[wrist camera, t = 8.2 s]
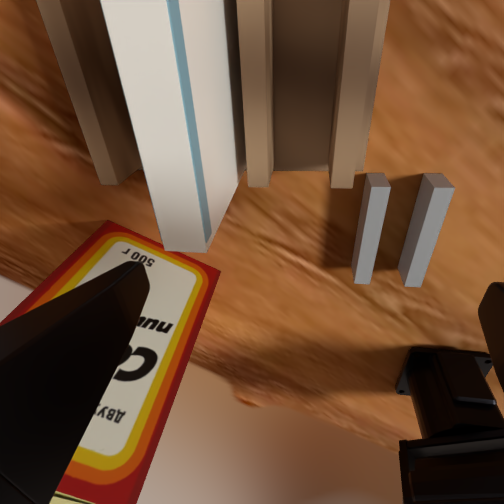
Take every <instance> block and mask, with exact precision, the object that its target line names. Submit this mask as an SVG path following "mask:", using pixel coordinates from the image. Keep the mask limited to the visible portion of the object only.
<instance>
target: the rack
mask: <svg viewBox="0 0 504 504" xmlns="http://www.w3.org/2000/svg"><path fill="white" fill-rule="evenodd" d="M236 1H237V17H238V32H239V48H240V64H241V80H242V96H243V112H244V127H245V143H246V159H247V166H246V168H245V170H244V171H247V175H248V187H269V183H270V179H271V175H272V171H329V177H330V185H331V188H353V182H354V175H355V171H363V168H364V162H365V156H366V150H367V143H368V137H369V131H370V124H371V118H372V112H373V106H374V99H375V93H376V87H377V80H378V74H379V68H380V62H381V55H382V49H383V43H384V36H385V30H386V24H387V18H388V11H389V5H390V0H236ZM36 2H37V5H38V7H39V10H40V13H41V16H42V19H43V22H44V24H45V27H46V30H47V33H48V36H49V39H50V41H51V44H52V47H53V50H54V53H55V56H56V58H57V61H58V64H59V67H60V70H61V73H62V75H63V78H64V81H65V84H66V87H67V90H68V92H69V95H70V98H71V101H72V104H73V107H74V109H75V112H76V115H77V118H78V121H79V124H80V126H81V129H82V132H83V135H84V138H85V141H86V143H87V146H88V149H89V152H90V155H91V158H92V160H93V163H94V166H95V169H96V172H97V175H98V177H99V180H100V183H101V185H119V184H120V183H122V182H123V181H124V180H125V179H126V178H128V177H129V176H130V175H131V174H132V173H134V172H135V171H136V170H143V166H142V162H141V158H140V155H139V151H138V147H137V143H136V139H135V135H134V131H133V127H132V124H131V120H130V116H129V112H128V108H127V104H126V100H125V96H124V93H123V89H122V85H121V81H120V77H119V73H118V69H117V65H116V62H115V58H114V54H113V50H112V46H111V42H110V38H109V35H108V31H107V27H106V23H105V19H104V15H103V11H102V7H101V4H100V0H36Z"/></svg>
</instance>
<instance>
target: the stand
mask: <svg viewBox="0 0 504 504" xmlns="http://www.w3.org/2000/svg"><path fill="white" fill-rule="evenodd" d="M390 189H391V186H390V184H389V182H388V180H387V178H386V176H385V174H384V173H366V179H365V185H364V191H363V197H362V203H361V209H360V215H359V221H358V227H357V233H356V239H355V245H354V251H353V257H352V263H351V267H352V273H353V279H354V283H356V284H370V280H371V276H372V271H373V267H374V262H375V258H376V253H377V248H378V244H379V239H380V235H381V230H382V226H383V221H384V217H385V212H386V207H387V203H388V198H389V194H390ZM454 189H455V187H454V186H453V185H452V184H451V183H450V182H449V181H448V180H447V178H446V177H445V176H444V175H443V174H433V173H424V174H423V178H422V181H421V185H420V189H419V192H418V196H417V199H416V203H415V207H414V210H413V214H412V218H411V221H410V225H409V228H408V232H407V236H406V239H405V243H404V246H403V250H402V254H401V257H400V261H399V265H398V270H399V273H400V276H401V278H402V281H403V284H404V286H408V287H421V284H422V282H423V279H424V276H425V273H426V270H427V267H428V264H429V261H430V258H431V256H432V253H433V250H434V247H435V244H436V241H437V238H438V235H439V233H440V230H441V227H442V224H443V221H444V218H445V215H446V212H447V209H448V207H449V204H450V201H451V198H452V195H453V192H454Z"/></svg>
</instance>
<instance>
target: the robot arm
mask: <svg viewBox="0 0 504 504" xmlns="http://www.w3.org/2000/svg"><path fill="white" fill-rule="evenodd" d="M149 291H150V282H149V279H148V276H147V273H146V269H145V266H144V264H143V263H142V262H140V261H126V262H124V263H122V264H120V265H118V266H117V267H115V268H113V269H111V270H109V271H107V272H105V273H103V274H101V275H99V276H97V277H95V278H93V279H91V280H89V281H87V282H85V283H83V284H81V285H79V286H77V287H76V288H74V289H72V290H70V291H68V292H66V293H64V294H62V295H60V296H58V297H56V298H54V299H52V300H50V301H48V302H46V303H44V304H42V305H40V306H38V307H36V308H35V309H33V310H31V311H29V312H27V313H25V314H23V315H21V316H19V317H17V318H15V319H13V320H11V321H9V322H7V323H5V324H3V325H1V326H0V504H50V502H51V500H52V498H53V496H54V494H55V492H56V490H57V487H58V485H59V483H60V481H61V479H62V477H63V475H64V473H65V471H66V469H67V467H68V465H69V463H70V461H71V459H72V457H73V455H74V453H75V451H76V449H77V447H78V445H79V443H80V441H81V439H82V437H83V435H84V433H85V431H86V429H87V427H88V425H89V423H90V421H91V419H92V417H93V415H94V413H95V411H96V409H97V407H98V405H99V403H100V401H101V399H102V397H103V395H104V393H105V391H106V389H107V387H108V385H109V383H110V381H111V379H112V377H113V375H114V373H115V371H116V369H117V367H118V365H119V363H120V361H121V359H122V357H123V355H124V353H125V351H126V349H127V347H128V345H129V343H130V341H131V339H132V337H133V334H134V332H135V329H136V326H137V324H138V321H139V318H140V316H141V313H142V310H143V308H144V305H145V302H146V299H147V297H148V294H149ZM478 316H479V320H480V323H481V326H482V330H483V333H484V336H485V340H486V343H487V346H488V350H489V353H490V354H484V353H472V352H460V351H449V350H437V349H426V348H411V349H410V350H409V352H408V354H407V357H406V360H405V362H404V365H403V367H402V370H401V373H400V375H399V378H398V381H397V383H396V386H395V390H396V393H397V394H400V395H409V396H411V398H412V402H413V406H414V409H415V413H416V417H417V420H418V424H419V428H420V432H421V435H422V439H417V440H409V441H407V440H399V446H400V451H399V460H400V471H401V481H402V492H403V504H504V418H503V416H502V414H501V412H500V410H499V408H498V406H497V404H496V403H497V402H496V399H495V397H494V395H493V393H492V391H491V389H490V387H489V385H488V383H487V381H486V379H485V377H486V375H487V374H488V372H489V371H490V369H491V368H492V366H494V369H495V372H496V375H497V377H498V380H499V382H500V385H501V387H502V389H503V392H504V282H493V283H491V284H490V285H489V287H488V289H487V291H486V293H485V295H484V297H483V299H482V301H481V303H480V305H479V308H478Z"/></svg>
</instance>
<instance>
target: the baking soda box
mask: <svg viewBox="0 0 504 504" xmlns="http://www.w3.org/2000/svg"><path fill="white" fill-rule="evenodd" d="M126 261H140V262H142V263H143V264H144V266H145V269H146V273H147V276H148V279H149V282H150V291H149V294H148V297H147V299H146V302H145V305H144V308H143V310H142V313H141V316H140V318H139V321H138V324H137V326H136V329H135V332H134V334H133V337H132V339H131V341H130V343H129V345H128V347H127V349H126V351H125V353H124V355H123V357H122V359H121V361H120V363H119V365H118V367H117V369H116V371H115V373H114V375H113V377H112V379H111V381H110V383H109V385H108V387H107V389H106V391H105V393H104V395H103V397H102V399H101V401H100V403H99V405H98V407H97V409H96V411H95V413H94V415H93V417H92V419H91V421H90V423H89V425H88V427H87V429H86V431H85V433H84V435H83V437H82V439H81V441H80V443H79V445H78V447H77V449H76V451H75V453H74V455H73V457H72V459H71V461H70V463H69V465H68V467H67V469H66V471H65V473H64V475H63V477H62V479H61V481H60V483H59V485H58V487H57V490H56V492H55V494H54V496H53V498H52V500H51V502H50V504H136V503H137V500H138V498H139V495H140V492H141V490H142V487H143V484H144V481H145V479H146V476H147V473H148V470H149V468H150V464H151V462H152V459H153V457H154V454H155V451H156V448H157V446H158V443H159V440H160V437H161V435H162V432H163V429H164V427H165V424H166V421H167V418H168V416H169V413H170V410H171V407H172V405H173V402H174V399H175V396H176V394H177V391H178V388H179V385H180V383H181V380H182V377H183V374H184V372H185V369H186V366H187V363H188V361H189V358H190V355H191V353H192V350H193V347H194V344H195V342H196V339H197V336H198V333H199V331H200V328H201V325H202V322H203V320H204V317H205V314H206V311H207V309H208V306H209V303H210V300H211V298H212V295H213V292H214V289H215V287H216V284H217V281H218V278H219V276H220V273H221V271H219V270H217V269H215V268H213V267H211V266H208V265H206V264H204V263H202V262H200V261H197V260H195V259H193V258H191V257H189V256H186V255H184V254H182V253H180V252H177V251H165V249H164V245H162V244H160V243H158V242H155V241H153V240H151V239H149V238H147V237H144V236H142V235H140V234H138V233H136V232H133V231H131V230H129V229H127V228H125V227H122V226H120V225H118V224H116V223H113V222H111V221H109V220H107V221H106V222H105V223H104V224H103V225H102V226H101V227H100V228H99V229H98V230H97V231H96V232H95V233H93V234H92V235H91V236H90V237H89V238H88V239H87V240H86V241H85V242H84V243H83V244H82V245H81V246H80V247H79V248H78V249H77V250H76V251H75V252H74V253H73V254H72V255H70V256H69V257H68V258H67V259H66V260H65V261H64V262H63V263H62V264H61V265H60V266H59V267H58V268H57V269H56V270H55V271H54V272H53V273H52V274H51V275H50V276H49V277H47V278H46V279H45V280H44V281H43V282H42V283H41V284H40V285H39V286H38V287H37V288H36V289H35V290H34V291H33V292H32V293H31V294H30V295H29V296H28V297H27V298H26V299H25V300H23V301H22V302H21V303H20V304H19V305H18V306H17V307H16V308H15V309H14V310H13V311H12V312H11V313H10V314H9V315H8V316H7V317H6V318H5V319H4V320H3V321H2V322H1V323H0V326H1V325H3V324H5V323H7V322H9V321H11V320H13V319H15V318H17V317H19V316H21V315H23V314H25V313H27V312H29V311H31V310H33V309H35V308H36V307H38V306H40V305H42V304H44V303H46V302H48V301H50V300H52V299H54V298H56V297H58V296H60V295H62V294H64V293H66V292H68V291H70V290H72V289H74V288H76V287H77V286H79V285H81V284H83V283H85V282H87V281H89V280H91V279H93V278H95V277H97V276H99V275H101V274H103V273H105V272H107V271H109V270H111V269H113V268H115V267H117V266H118V265H120V264H122V263H124V262H126Z"/></svg>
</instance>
